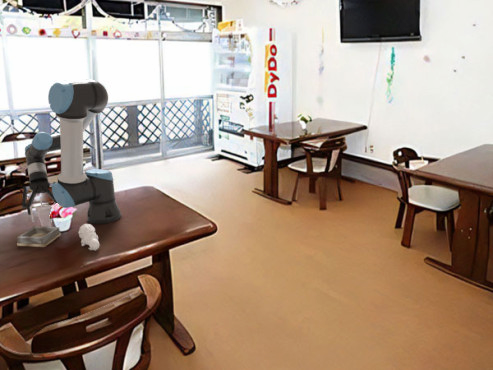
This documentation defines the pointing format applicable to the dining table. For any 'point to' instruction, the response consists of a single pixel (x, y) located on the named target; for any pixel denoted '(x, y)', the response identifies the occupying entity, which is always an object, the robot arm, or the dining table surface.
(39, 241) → the pocket plate
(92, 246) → the white lumpy figurine
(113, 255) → the dining table surface
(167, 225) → the dining table surface
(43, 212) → the smoothie
